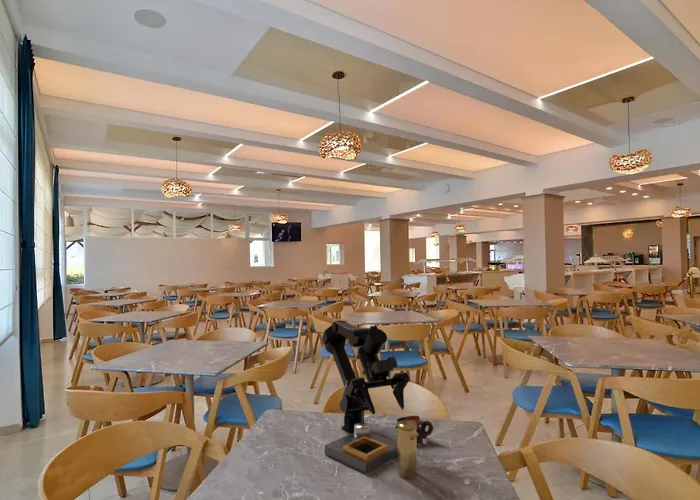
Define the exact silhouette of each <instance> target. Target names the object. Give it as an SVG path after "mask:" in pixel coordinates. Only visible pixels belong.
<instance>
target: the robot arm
mask: <svg viewBox="0 0 700 500" xmlns="http://www.w3.org/2000/svg"><path fill="white" fill-rule="evenodd" d="M347 339H348V344H349V345H350V346H351V347H352V348H358V351H357V355H356V359H357V360H359V362H360V364H361V367H362V372H361V374H362V375H363V376H365V378H366V379H365V378H364V377H357V376H356V374H355V371H354V368H353V366H352V363H351V361H350V359H349V356H348V353H347V351H346V349H345V346H346V343H347ZM321 340H322V341H321V342H322V344H323V345H322V346H324V348H325V350H326V351H327V352H328V353H330V354H331V355H332V356H333V358H334V362H335V364H336V368H337V370H338V372H339V375H340V378H341V381H342V384H343V386H344V390H343V392H342V393H343V394H342V398H341V400H340V402H339V408H340V411H342V412H343V413H344V416H343V425H342V426H341V427H340V428H341V429H342V430H344V431H347V432H349V433H350V434H351V433H354V425H355V424H356V423H361V422H364V423H365V411H369V412H370V413H371V414H372V415H375V414H376V409H375V407H374V404H373V401H372V398H371V396H370V395H371V394H370V393H369V389H374V388H381V387H387V386H390V387H391V389H392V393H393V394H392V395H394V397H395V400H396V402H397V404H398V406H399V408H400V409H401V410H404V409H405V400H404V399H405V396H404V389H405V388H406V387H407V385H408V383H409V382H410V380H411V377H410V375H409V373H407V372H406V371H402V372H396V373H394V374H393V377H392V378H387V377H389V375H390V372H391V371H392V372H393V371H394V369H396V368H398V361H397V360H396V358H395V356H389V357H387V358H386V359H380V358H379V355H378V354H380V353H381V352H382V349H383V348H384V346H385V344H386V343H387V340H388V336H387V333H386V332H384V330H383V329H380V328H378V326H377V325H372V326H371V325H370V327H357V326H355V325H353V324H351V323H349V322H347V321H346V320H335V321H333V322H332V323H331V325H330V326H328V327H326V329H325V330H324V332H323V334H322V337H321Z"/></svg>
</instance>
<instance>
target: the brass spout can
mask: <svg viewBox="0 0 700 500" xmlns="http://www.w3.org/2000/svg"><path fill="white" fill-rule="evenodd" d="M396 425H397V429H396V431H397V435H396V436H397V437H396V439H397V441H396V442H397V445H398V456H397V475H398V476H399V477H400V478H401V479H405V480H412V479H415V478H416V477H417V476H418V465H417V464H418V459H417V458H418V457H417V455H418V453H417V446H418V444H417V436H418V433H417V432H416V428H417V424H416V423H415V422H413V421H409V420H402V421H399V422H397V421H396Z"/></svg>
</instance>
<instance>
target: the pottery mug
mask: <svg viewBox="0 0 700 500" xmlns="http://www.w3.org/2000/svg"><path fill="white" fill-rule="evenodd" d="M402 420H409V421H413V422H415V423H416V424H417V428H416V432H417V433H418V436H417V445H420V444H421V445H422V444H423V443H424V440H426V439H427V437H428V436H431V434H432V433H433V432H434V426H433V423H432V422H431V421H429V420H423V421H422V420H421V419H420V416H419V415H408V416H402V417H398V418H397V419H396V423H397V422H399V421H402ZM427 426H428V429H427V431H426V428H427ZM394 429H395V430H397V424H396V426H395V427H394Z"/></svg>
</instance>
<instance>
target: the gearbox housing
mask: <svg viewBox="0 0 700 500" xmlns="http://www.w3.org/2000/svg"><path fill="white" fill-rule="evenodd" d="M324 455H325V456H328V457H330V458H332V459H334V460H336V461H338V462H340V463H342V464H344V465H346V466H349V467H350V468H353V469H355V470H357V471H359V472H360V473H361V472H362V473H363V474H368V473H369V472H371V471H373V470H375V469H376V468H378V467H380V466H382V465H384V464H385V463H387V462H389V461H391V460H392V459H394V458H396V457H398V445H397V441H394V440H391V439H390V438H387V437H384V436H381V435H379V434H376V433H373V432H371V424H370V423H368V422H365V421H364V422H361V423H356V424H355V425H354V433H351V432H350V434H346V435H345V436H343V437H340V438H338V439H336V440H334V441H331V442H329V443H327V444H325V445H324Z"/></svg>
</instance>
